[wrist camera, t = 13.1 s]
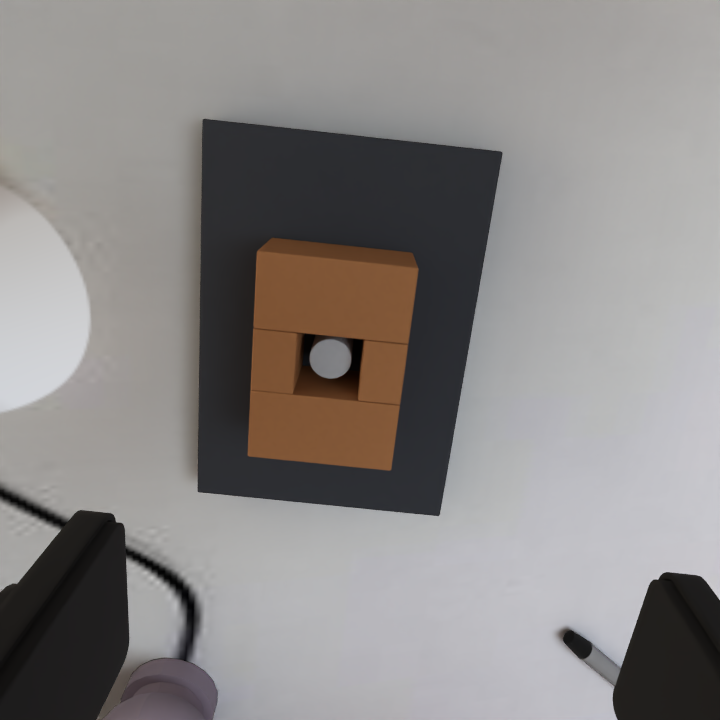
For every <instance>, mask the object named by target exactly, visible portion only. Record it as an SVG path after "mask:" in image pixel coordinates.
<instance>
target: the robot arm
mask: <svg viewBox="0 0 720 720" xmlns="http://www.w3.org/2000/svg"><path fill="white" fill-rule="evenodd" d="M128 647H129V621H128V597H127V572H126V548H125V528H124V525H123V524H122V523H116V520H115V517H114V515H113V514H111V513H103V512H93V511H84V510H80V511H77V512H76V513H75V514H74V515H73V516H72V518H71V519H70V520H69V521H68V522H67V524H66V525H65V526H64V527H63V529H62V530H61V531H60V532H59V533H58V535H57V536H56V537H55V538H54V540H53V541H52V542H51V543H50V545H49V546H48V547H47V548H46V549H45V551H44V552H43V553H42V554H41V556H40V557H39V558H38V559H37V560H36V562H35V563H34V564H33V565H32V567H31V568H30V569H29V570H28V572H27V573H26V574H25V575H24V576H23V578H22V579H21V580H20V581H19V583H18V584H11V585H9V586H7V587H5V588H4V589H3V590H2V591H1V592H0V720H96V719H97V717H98V715H99V713H100V711H101V709H102V707H103V705H104V702H105V700H106V698H107V696H108V694H109V692H110V690H111V688H112V686H113V684H114V682H115V680H116V678H117V676H118V674H119V672H120V670H121V668H122V666H123V663H124V661H125V658H126V655H127V652H128ZM613 706H614V711H615V714H616V717H617V719H618V720H720V600H719V599H718V597H717V596H716V595H715V593H714V592H713V591H712V589H711V588H710V586H709V585H708V584H707V582H706V581H705V580H704V579H703V578H702V577H700V576H697V575H689V574H679V573H670V572H666V573H663V574H662V575H661V576H660V578H659V580H653V581H652V582H651V583H650V585H649V587H648V590H647V593H646V596H645V599H644V602H643V605H642V608H641V611H640V614H639V617H638V620H637V623H636V626H635V629H634V632H633V635H632V637H631V640H630V643H629V646H628V649H627V652H626V655H625V658H624V661H623V664H622V667H621V670H620V673H619V676H618V679H617V682H616V685H615V688H614V691H613Z"/></svg>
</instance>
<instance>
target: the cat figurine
mask: <svg viewBox="0 0 720 720" xmlns="http://www.w3.org/2000/svg"><path fill="white" fill-rule="evenodd" d="M217 696H218V692H217V689H216V687H215V684H214V681H213V680H212V679H211V678H210V677H209V675H208V674H207V673H206V672H205V671H203V670H202V669H200V668H199V667H197V666H196V665H194V664H191V663H189V662H186V661H183V660H179V659H170V658H164V659H157V660H152V661H149V662H147V663H145V664H143V665H141V666H140V667H139V668H138V669H136V670H135V671H134V672H133V673H132V675H131V678H130V680H129V682H128V684H127V686H126V689H125V691H124V693H123V696H122V698H121V703H120V704H118V705H117V706H115V707H114V708H113V709H112V710H111V711H110V712H109V713H108V714H107V715H106V716H105V717H104V718H103V719H102V720H213V716H214V712H215V709H216V705H217Z"/></svg>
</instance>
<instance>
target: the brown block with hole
mask: <svg viewBox="0 0 720 720" xmlns="http://www.w3.org/2000/svg"><path fill="white" fill-rule="evenodd" d="M418 270H419V269H418V266H417V264H416V261H415V258H414V256H413V253H411V252H402V251H393V250H383V249H374V248H365V247H355V246H346V245H337V244H327V243H318V242H308V241H299V240H290V239H280V238H271V239H270V240H269V241H268V242H267V243H266V244H265V245H263V246H262V247H261V248H260V249H259V250H258V251H257V258H256V280H255V303H254V325H253V326H254V329H253V346H252V369H251V391H250V413H249V435H248V456H249V457H259V458H269V459H279V460H289V461H299V462H309V463H319V464H329V465H339V466H349V467H359V468H369V469H379V470H389V471H390V470H391V468H392V460H393V453H394V446H395V438H396V431H397V424H398V417H399V409H400V402H401V394H402V387H403V380H404V372H405V365H406V358H407V351H408V342H409V336H410V329H411V321H412V314H413V307H414V300H415V292H416V285H417V278H418ZM305 333H306V334H315V335H325V336H335V337H344V338H354V339H363V341H362V350H361V359H360V369H359V371H350V370H348V371H347V372H346V373H345V374H344V375H342V376H340V377H338V378H333V379H328V378H324V377H321V376H320V375H318V374H317V373H316V372H315V371H314V370H313V369H312V367H311V366H302V364H303V352H304V339H305Z"/></svg>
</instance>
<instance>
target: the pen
mask: <svg viewBox="0 0 720 720" xmlns="http://www.w3.org/2000/svg"><path fill="white" fill-rule="evenodd" d="M563 641H564V643H565V644H566V645H567V646H568V647H569V648H570V649H571V650H572V651H573V652H574V653H575V654H576V655H577V656H578V658H579V659H581V660H583V661H584V662H585V663H586V664H588V665H589V666H590V667H591V668H593V669H594V670H595V671H596V672H598V673H599V674H600V675H601V676H603V677H604V678H605V679H606V680H608V681H609V682H610V683H611V684H613V685H614V686H615V685H616V682H617V679H618V676H619V673H620V670H621V668H620V667H618V666H617V665H616V664H615V663H614V662H612V661H611V660H610V659H609V658H608V657H607V656H605V655H604V654H603V653H602V652H601V651H599V650H598V649H597V648H596V647H595V646H593V645H592V643H591V642H589V641H587V640H586V639H584V638H583V637H581V636H580V635H578V634H576V633H575V632H573V631H567V632H566V633H565V635H564V637H563Z"/></svg>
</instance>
